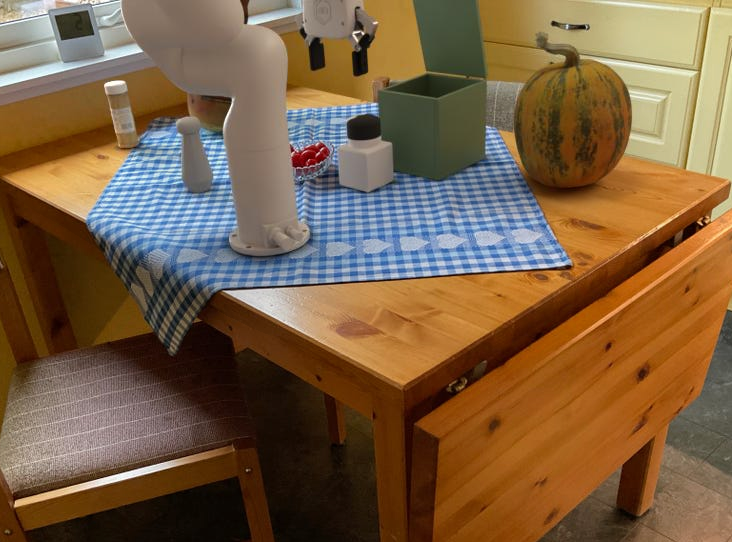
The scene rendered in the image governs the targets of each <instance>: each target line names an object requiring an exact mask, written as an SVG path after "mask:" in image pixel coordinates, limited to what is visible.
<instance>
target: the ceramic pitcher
mask: <svg viewBox="0 0 732 542" xmlns="http://www.w3.org/2000/svg"><path fill="white" fill-rule="evenodd" d="M240 2H241V4H242V7H243V11H244V24H249V23H248V22H249V3H250V0H240ZM186 99H187V100H186V101H187V102H186V103H187V109H188V110H187V111H188V114H189V117H196V118H198V119H199V121H200V124H201V128H203V129H205V130H208V131H211V132H216V133H223V125H224V121H225V118H226V116H227V114H228V112H229V109H230V107H231V104H232V98H231V97H224V96H212V95H198V94H191V93H187V98H186Z"/></svg>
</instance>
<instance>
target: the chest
mask: <svg viewBox="0 0 732 542" xmlns="http://www.w3.org/2000/svg"><path fill="white" fill-rule="evenodd" d="M487 87H488V80H486V79H480V78H473V77H465V76H457V75H449V74H441V73H433V72H426V73H423V74H420V75H418V76H414V77H412V78H409V79H406V80H403V81H400V82H397V83H394V84H392V85H390V86H386V87H384V88H381V89H378V90H377V91H376V92H377V107H378V109H377V110H378V117H379V118H380V122H381V141H386V142H391V143H392V151H393V172H398V173H403V174H407V175H411V176H416V177H421V178H424V179H429V180H434V181H438V182H440V181H442V180H444V179H446V178H448V177H450V176H452V175H455V174H456V173H457V172H461V171H462V170H464V169H466V168H468V167H470V166H472V165H474V164H476V163H478V162H480V161H482V160H484V159H486V148H487V147H486V146H487V145H486V143H487V142H486V141H487V138H486V137H487V95H488V94H487V93H488V92H487V91H488V88H487Z"/></svg>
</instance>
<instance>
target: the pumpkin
mask: <svg viewBox="0 0 732 542" xmlns="http://www.w3.org/2000/svg"><path fill="white" fill-rule="evenodd" d="M534 35H535V36H536V38H535V40H534V41H535V42H536V47H537V48H539V49H542V50H544V51H545V52H546V53H548V54H551V55H555V56H557V55H561V56H563V57H565V60H564V61H559V62H553V63H550V64H546V65H544V66H542V67H540V68H539V69H537V70H536V71H534V73H532V74H531V75H530V76H529V77H528V79H527V80H526V82H525V83H524V84H523V86H522V88H521V90H520V92H519V94H518V97H517V100H516V103H515V107H514V114H513V132H514V140H515V145H516V150H517V152H518V156H519V160H520V161H521V165H522V166H523V168H524V171H526V172H527V174H528V175H529V176H530V177H531V178H532V179H533V180H535V181H536V182H538V184H540V185H543V186H545V187H550V188H558V189H560V188H561V189H562V188H563V189H564V188H575V187H576V188H578V187H584V186H588V185H592V184H595V183H597V182H599V181H600V180H602V179H604V178H606V177H607V176H608V175H609V174H611V172H613V170H614V169H615V168H616V167H617V165H618V164H619V163H620V161H621V159H622V158H623V156H624V154H625V152H626V150H627V147H628V145H629V140H630V136H631V131H632V125H633V106H632V99H631V94H630V92H629V89H628V86H627V84H626V83H625V80H623V79H622V77H621V76H620V75H619V73H617V72H616V71H615V70H614V69H613V68H611V67H610V66H609V65H607V64H605V63H602V62H600V61H598V60H595V59H592V58H581V56H580V53H579V51H578V49H577V48H576V47H575V46H574V45H572V44H569V43H550V42H548V40H549V34H548V33H547V32H544V31H542V30H540V31H538V32H535V33H534Z"/></svg>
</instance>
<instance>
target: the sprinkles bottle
mask: <svg viewBox="0 0 732 542" xmlns="http://www.w3.org/2000/svg"><path fill="white" fill-rule="evenodd" d="M103 86H104V91H105V94H106V97H107V100H108V105H109V110H110V114H111V119H112V122H113V128H114V131H115V135H116V140H117V146H118V147H119V148H121V149H131V148H135V147H137V146H139V144H140V141H139V139H138V134H137V130H136V129H137V128H136V123H135V119H134V114H133V111H132V106H131V103H130V102H131V101H130V98H129V94H128V93H129V92H128V90H129V89H128V86H127V82H126V81H125V80H113V81H108V82H105V83H104V85H103Z"/></svg>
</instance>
